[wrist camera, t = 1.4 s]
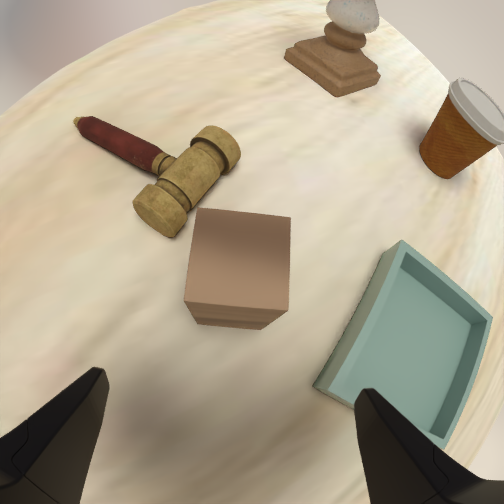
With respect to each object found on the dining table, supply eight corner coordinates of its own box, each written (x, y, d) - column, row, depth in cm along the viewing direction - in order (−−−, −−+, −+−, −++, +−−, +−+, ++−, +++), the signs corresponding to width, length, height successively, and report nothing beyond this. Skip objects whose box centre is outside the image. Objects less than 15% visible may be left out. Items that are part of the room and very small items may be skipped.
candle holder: (336, 98, 34) (398, -55, 12) (282, 58, 36) (315, -81, 14) (378, 84, 37) (436, -35, 15) (329, 48, 40) (367, -65, 17)
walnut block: (261, 329, 23) (288, 310, 14) (197, 324, 22) (183, 300, 14) (264, 269, 25) (290, 217, 16) (204, 263, 24) (197, 207, 15)
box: (422, 443, 20) (444, 449, 17) (312, 386, 22) (327, 390, 18) (471, 323, 25) (492, 317, 22) (382, 253, 26) (401, 239, 23)
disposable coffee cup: (402, 125, 34) (443, 64, 23) (451, 144, 35) (493, 94, 24) (418, 180, 31) (475, 117, 19) (468, 196, 31) (523, 148, 20)
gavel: (37, 135, 24) (99, 82, 28) (53, 159, 28) (109, 108, 32) (166, 220, 21) (242, 136, 24) (177, 246, 25) (241, 168, 28)
